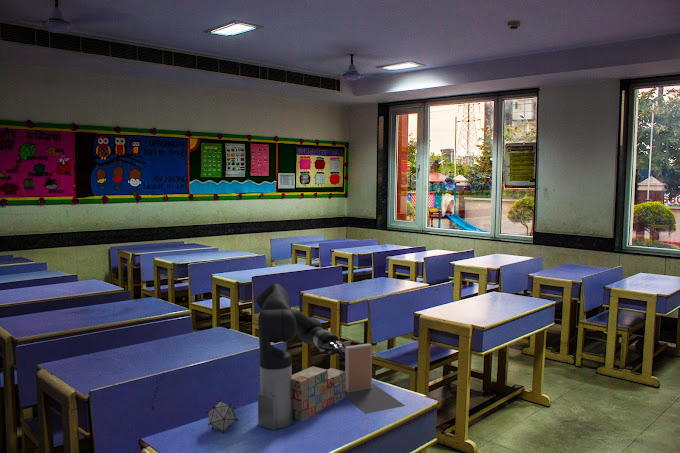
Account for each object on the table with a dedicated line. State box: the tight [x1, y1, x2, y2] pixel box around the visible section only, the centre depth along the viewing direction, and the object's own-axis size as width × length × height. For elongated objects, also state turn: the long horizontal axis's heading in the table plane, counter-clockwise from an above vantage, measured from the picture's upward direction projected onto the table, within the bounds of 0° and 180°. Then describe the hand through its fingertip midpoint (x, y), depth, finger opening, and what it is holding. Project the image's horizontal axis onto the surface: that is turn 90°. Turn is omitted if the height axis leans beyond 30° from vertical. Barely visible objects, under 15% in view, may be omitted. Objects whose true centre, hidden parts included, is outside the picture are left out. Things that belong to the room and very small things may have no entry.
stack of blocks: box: [292, 366, 347, 422], centre depth 170 cm, size 21×6×12 cm, turn 142°
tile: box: [344, 343, 373, 392], centre depth 183 cm, size 2×9×15 cm, turn 115°
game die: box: [205, 398, 239, 435], centre depth 154 cm, size 9×8×10 cm
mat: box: [345, 383, 406, 415], centre depth 176 cm, size 21×14×1 cm, turn 25°
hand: (345, 354), depth 192 cm, fingers closed
